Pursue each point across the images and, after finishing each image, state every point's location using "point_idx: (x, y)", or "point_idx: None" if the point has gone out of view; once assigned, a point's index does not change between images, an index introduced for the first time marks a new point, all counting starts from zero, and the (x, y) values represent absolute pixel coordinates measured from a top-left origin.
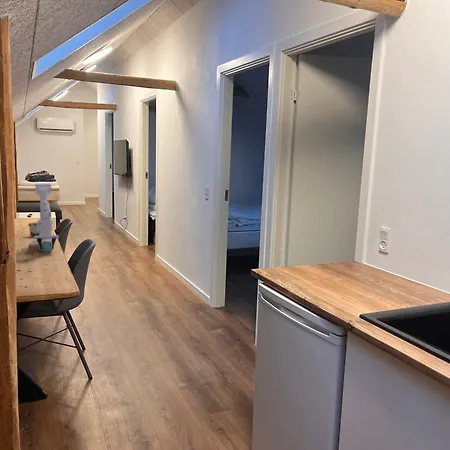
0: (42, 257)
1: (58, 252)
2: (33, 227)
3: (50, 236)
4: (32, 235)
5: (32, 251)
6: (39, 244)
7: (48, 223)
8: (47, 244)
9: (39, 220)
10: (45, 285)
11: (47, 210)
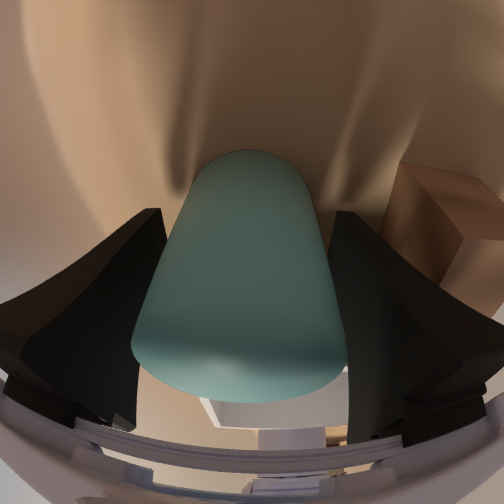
0: None
1: (82, 162)
2: (331, 470)
3: (36, 484)
4: (333, 445)
5: (459, 184)
6: (416, 273)
7: None
8: (204, 248)
9: None
10: None
11: None
